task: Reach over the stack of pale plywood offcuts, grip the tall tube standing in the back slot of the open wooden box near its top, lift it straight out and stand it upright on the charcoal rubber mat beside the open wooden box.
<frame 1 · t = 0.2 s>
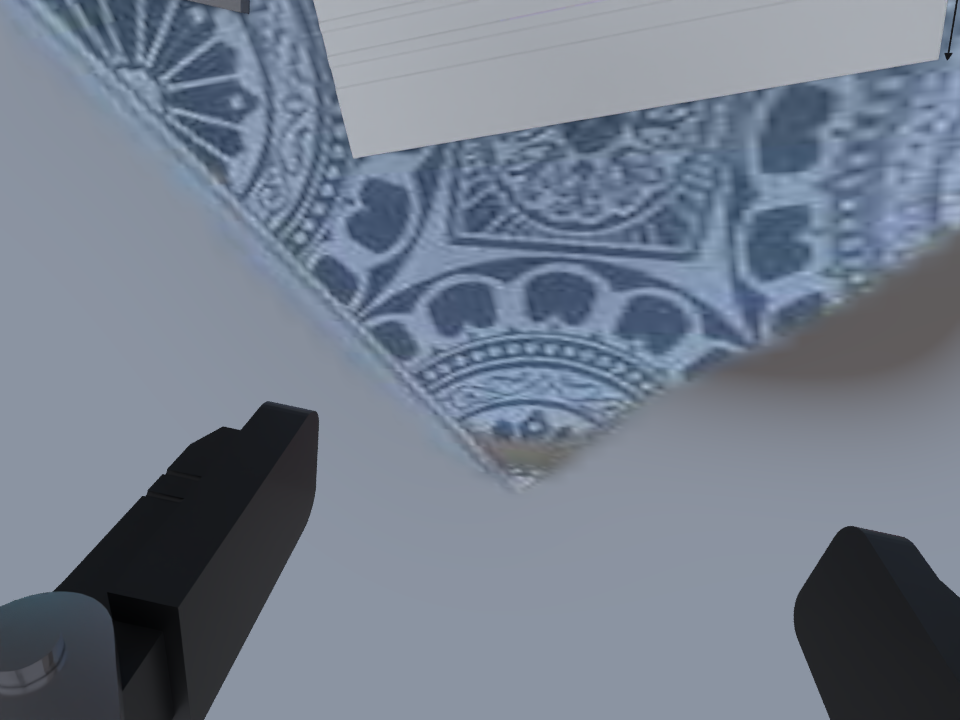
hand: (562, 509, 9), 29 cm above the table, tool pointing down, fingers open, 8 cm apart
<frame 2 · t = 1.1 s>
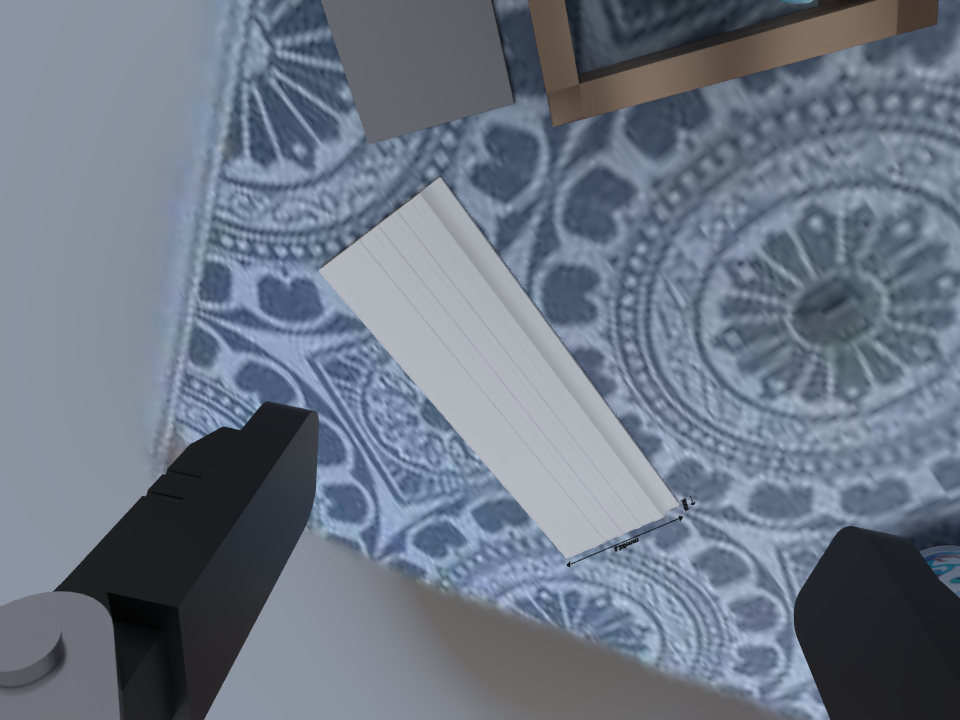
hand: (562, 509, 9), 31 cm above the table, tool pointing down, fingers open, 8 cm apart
chinaware: (935, 573, 48), on the table
mat: (411, 10, 33), on the table
baseboard molding: (522, 383, 44), on the table
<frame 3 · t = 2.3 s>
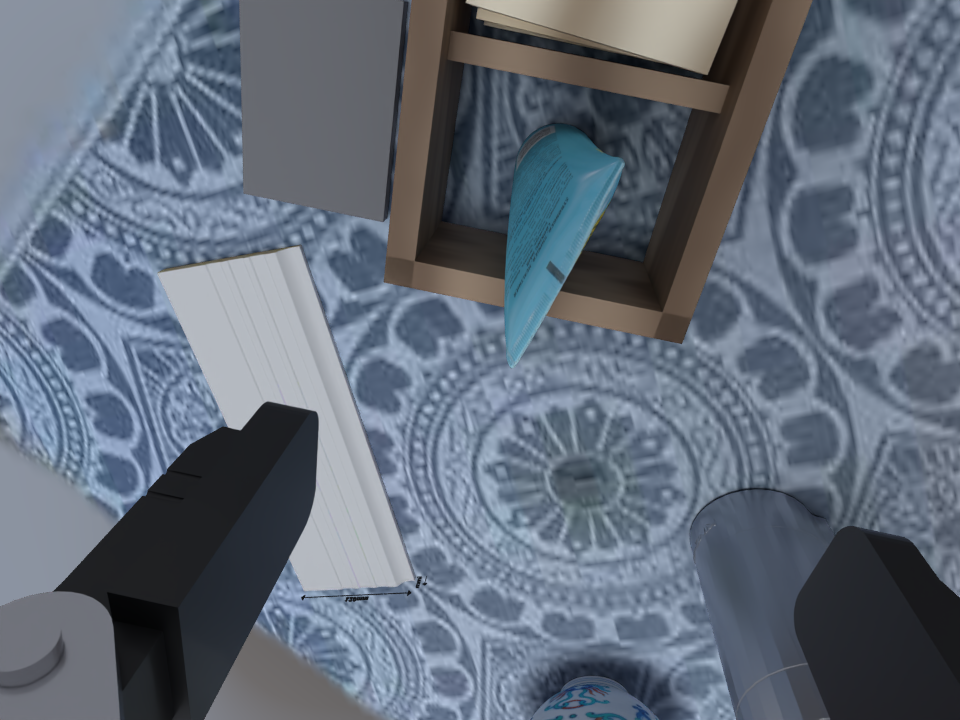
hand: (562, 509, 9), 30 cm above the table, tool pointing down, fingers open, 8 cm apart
chinaware: (594, 695, 58), on the table
tube: (559, 165, 35), resting in open wooden box
open wooden box: (575, 97, 33), on the table
mat: (322, 104, 35), on the table
baseboard molding: (317, 435, 48), on the table
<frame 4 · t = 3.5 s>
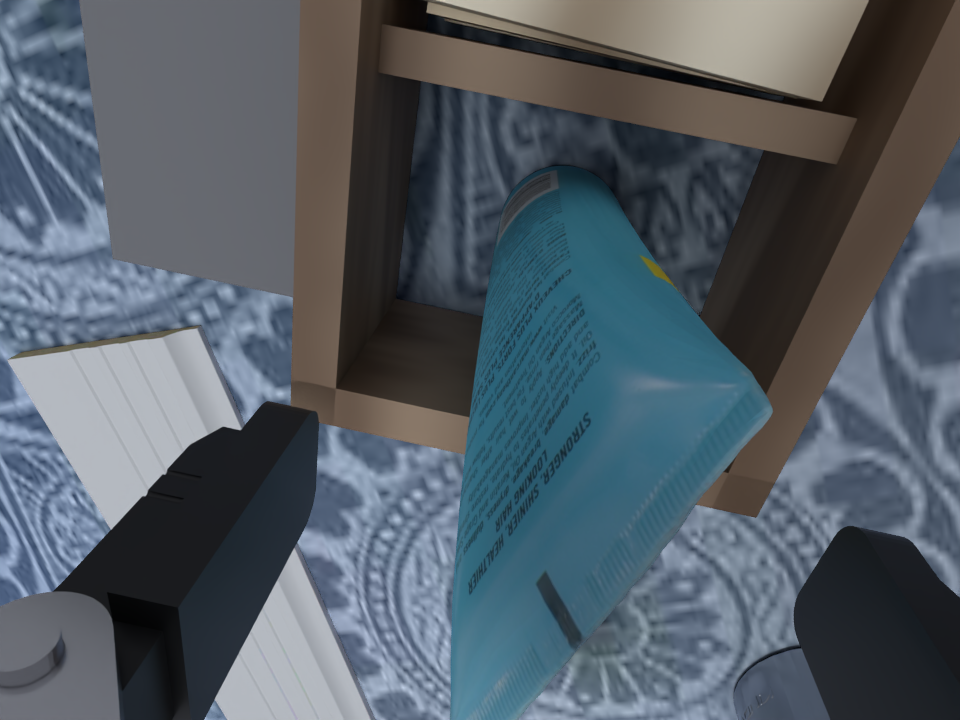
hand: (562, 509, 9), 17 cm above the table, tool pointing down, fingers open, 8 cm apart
tube: (563, 224, 24), resting in open wooden box
open wooden box: (588, 127, 22), on the table
mat: (217, 134, 24), on the table
baseboard molding: (243, 556, 37), on the table
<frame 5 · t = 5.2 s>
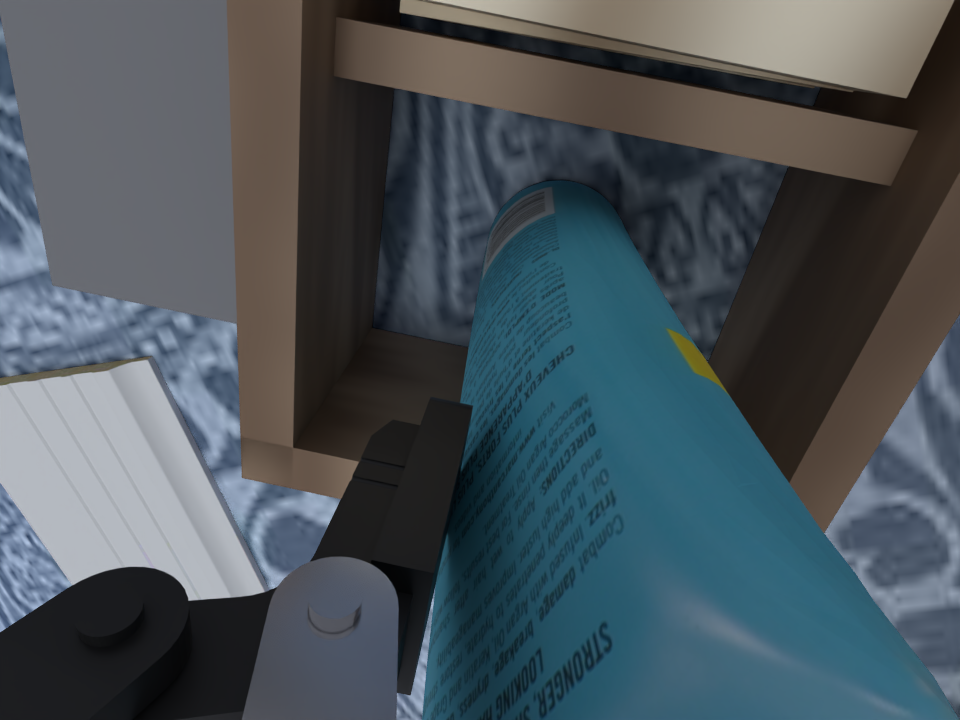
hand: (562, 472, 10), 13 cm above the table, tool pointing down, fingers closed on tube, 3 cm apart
tube: (560, 246, 21), resting in open wooden box, touching gripper
open wooden box: (587, 136, 19), on the table
mat: (165, 145, 21), on the table
baseboard molding: (211, 598, 34), on the table
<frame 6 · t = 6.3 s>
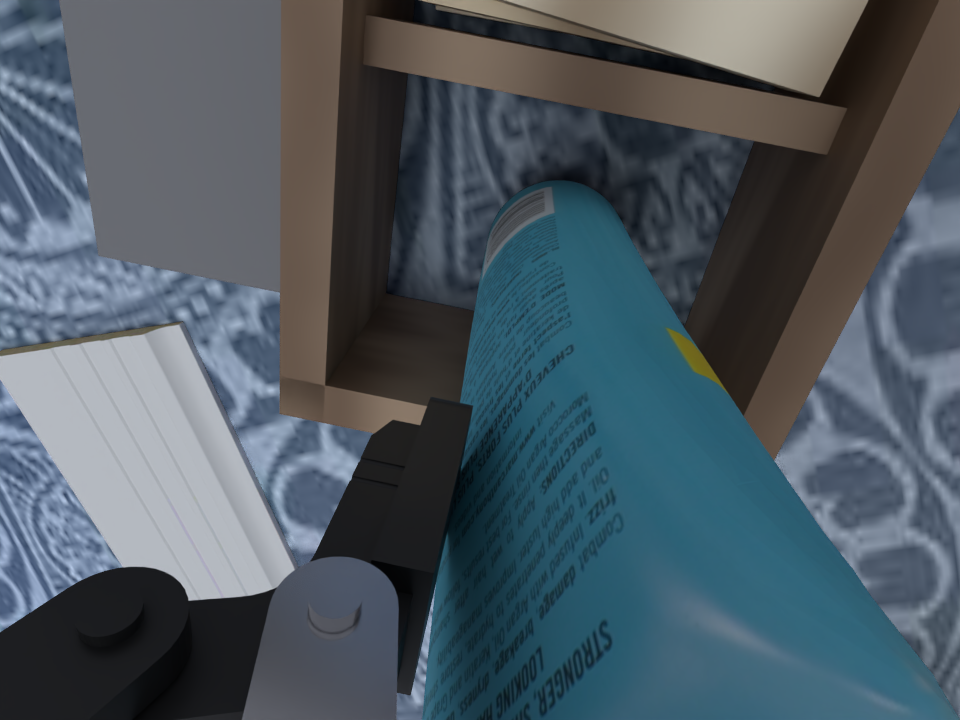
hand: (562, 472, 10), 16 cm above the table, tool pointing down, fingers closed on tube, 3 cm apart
tube: (560, 245, 21), point 3 cm above the table, touching gripper
open wooden box: (577, 118, 22), on the table
mat: (202, 128, 24), on the table
baseboard molding: (231, 552, 37), on the table
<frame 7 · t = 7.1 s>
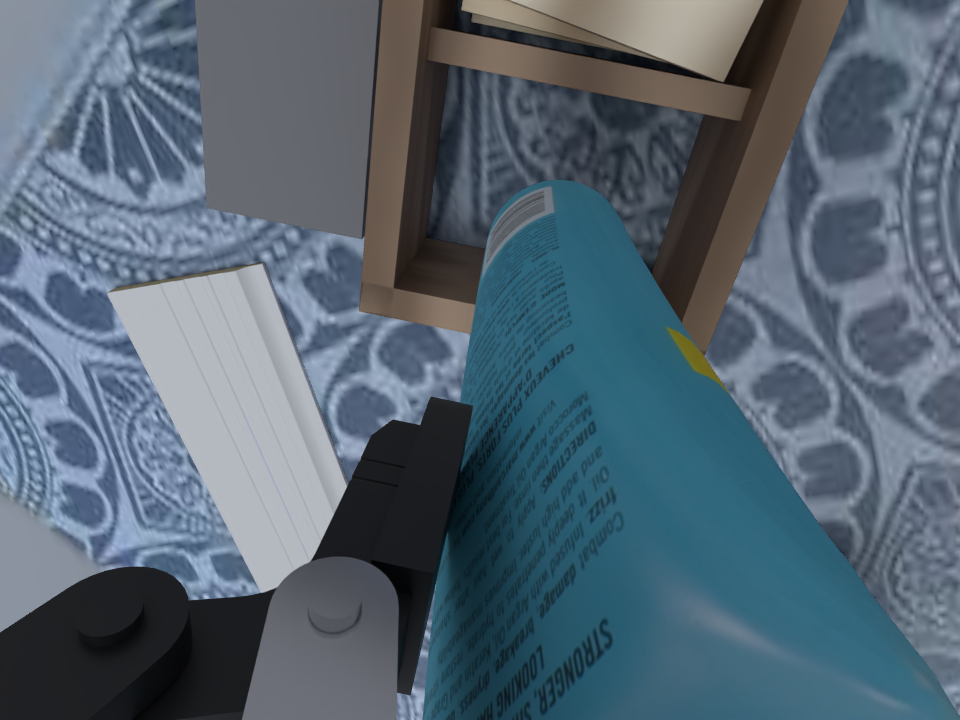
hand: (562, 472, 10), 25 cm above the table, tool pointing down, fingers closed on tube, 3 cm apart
tube: (559, 245, 21), point 12 cm above the table, touching gripper
open wooden box: (573, 101, 30), on the table
mat: (292, 109, 31), on the table
baseboard molding: (288, 464, 44), on the table
when the fingers open (15 cm above the table, at t = 13.0 s): tube stays where it is, resting on mat.
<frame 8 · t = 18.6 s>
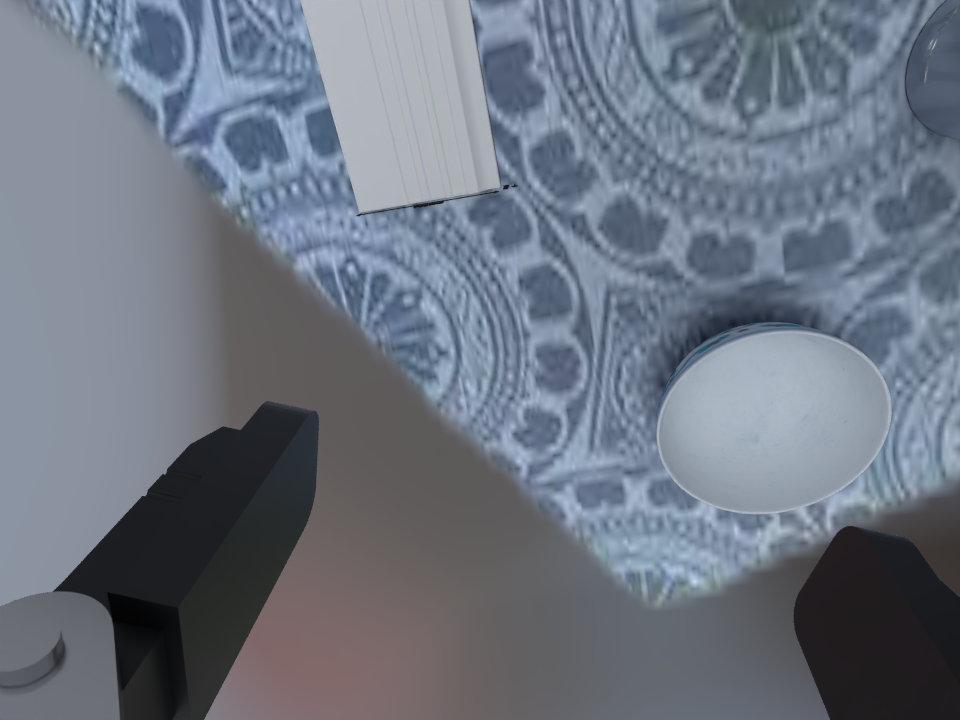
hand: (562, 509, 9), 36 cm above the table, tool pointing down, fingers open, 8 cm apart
chinaware: (738, 374, 47), on the table
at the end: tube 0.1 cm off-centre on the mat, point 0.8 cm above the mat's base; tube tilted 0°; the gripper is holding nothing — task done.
